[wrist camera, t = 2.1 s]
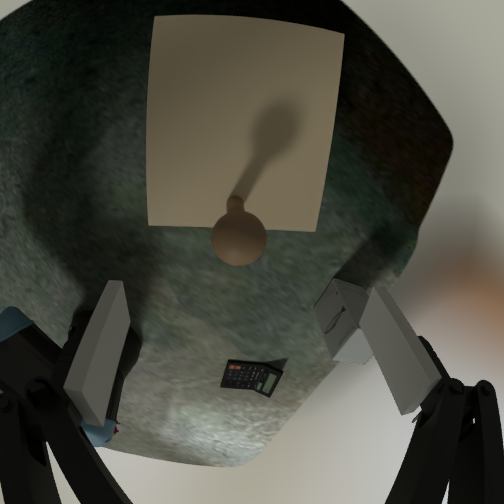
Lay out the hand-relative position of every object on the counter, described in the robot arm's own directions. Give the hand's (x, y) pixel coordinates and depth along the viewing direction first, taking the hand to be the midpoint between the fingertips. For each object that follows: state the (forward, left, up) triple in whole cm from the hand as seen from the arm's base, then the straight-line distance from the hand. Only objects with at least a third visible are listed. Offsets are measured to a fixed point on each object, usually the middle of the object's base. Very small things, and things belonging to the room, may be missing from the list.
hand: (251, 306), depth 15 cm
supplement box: (+20, -22, -28) cm, 41 cm away
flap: (0, +7, -16) cm, 17 cm away
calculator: (+6, -44, -29) cm, 53 cm away
